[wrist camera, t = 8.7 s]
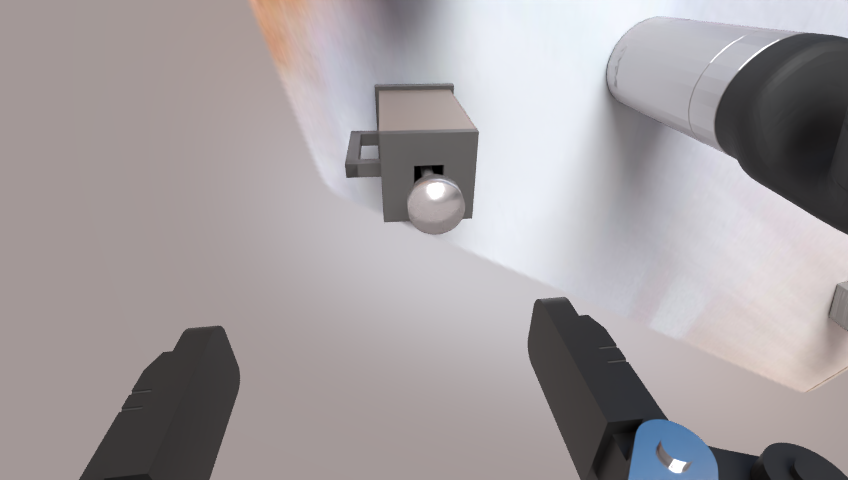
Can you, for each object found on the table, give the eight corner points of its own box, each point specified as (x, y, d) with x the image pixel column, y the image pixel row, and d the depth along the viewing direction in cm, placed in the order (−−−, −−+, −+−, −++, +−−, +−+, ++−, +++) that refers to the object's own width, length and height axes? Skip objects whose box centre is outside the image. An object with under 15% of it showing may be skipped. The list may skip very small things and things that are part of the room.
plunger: (445, 103, 41) (482, 168, 27) (444, 159, 44) (475, 243, 30) (387, 105, 41) (392, 171, 26) (389, 161, 44) (395, 247, 29)
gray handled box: (452, 83, 44) (484, 126, 31) (449, 157, 48) (476, 222, 35) (350, 85, 43) (338, 130, 30) (357, 159, 48) (348, 227, 34)
